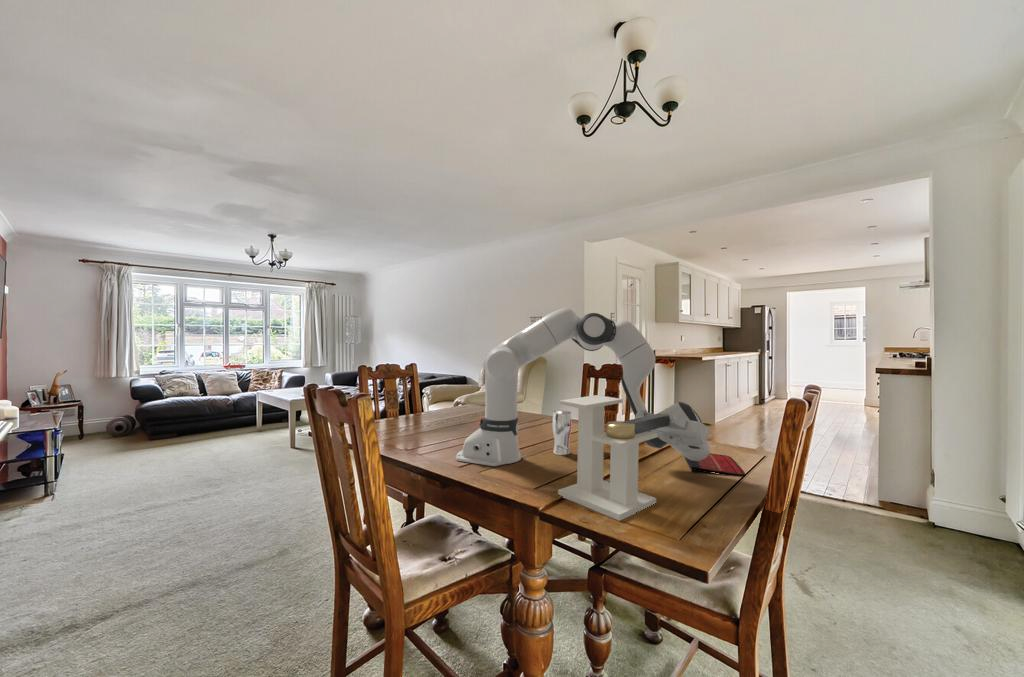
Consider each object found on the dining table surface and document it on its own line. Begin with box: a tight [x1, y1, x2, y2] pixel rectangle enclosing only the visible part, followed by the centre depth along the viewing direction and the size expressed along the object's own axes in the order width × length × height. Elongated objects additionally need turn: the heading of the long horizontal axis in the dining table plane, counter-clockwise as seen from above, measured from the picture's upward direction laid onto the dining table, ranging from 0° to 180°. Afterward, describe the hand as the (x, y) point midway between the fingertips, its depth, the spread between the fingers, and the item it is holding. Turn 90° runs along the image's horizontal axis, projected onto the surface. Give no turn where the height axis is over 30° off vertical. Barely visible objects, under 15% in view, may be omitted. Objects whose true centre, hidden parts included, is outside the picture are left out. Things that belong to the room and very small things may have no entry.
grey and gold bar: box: [605, 412, 669, 439], centre depth 116 cm, size 24×7×3 cm, turn 131°
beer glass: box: [552, 409, 573, 456], centre depth 158 cm, size 7×7×15 cm
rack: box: [557, 394, 658, 522], centre depth 116 cm, size 16×20×26 cm
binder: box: [684, 452, 745, 477], centre depth 147 cm, size 16×2×21 cm
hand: (657, 414), depth 121 cm, fingers open, 8 cm apart
